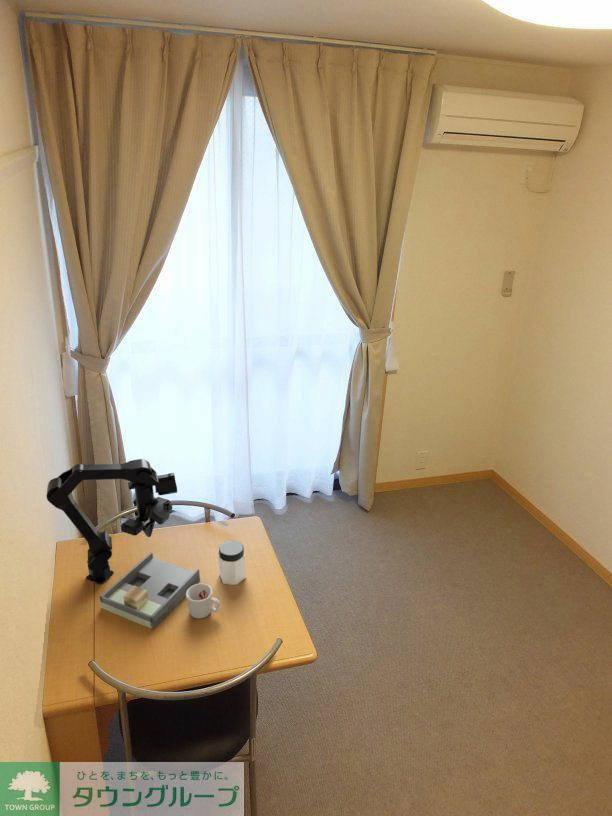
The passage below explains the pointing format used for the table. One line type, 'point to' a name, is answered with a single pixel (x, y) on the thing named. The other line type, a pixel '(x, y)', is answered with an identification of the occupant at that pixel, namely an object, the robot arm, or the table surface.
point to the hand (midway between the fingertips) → (149, 536)
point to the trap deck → (150, 590)
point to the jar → (231, 562)
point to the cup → (201, 600)
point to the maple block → (135, 597)
